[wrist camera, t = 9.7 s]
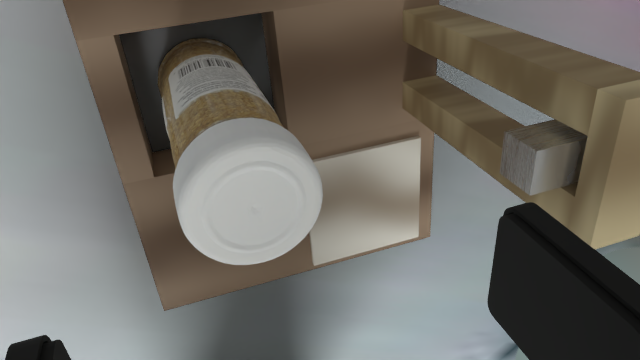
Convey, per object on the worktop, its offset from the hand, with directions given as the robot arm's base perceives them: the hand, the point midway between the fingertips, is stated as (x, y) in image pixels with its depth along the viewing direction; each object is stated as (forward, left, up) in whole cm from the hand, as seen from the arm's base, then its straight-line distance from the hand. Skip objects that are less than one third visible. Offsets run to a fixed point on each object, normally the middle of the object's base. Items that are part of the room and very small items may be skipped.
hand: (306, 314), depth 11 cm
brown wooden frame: (-3, -3, -19) cm, 19 cm away
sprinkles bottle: (-1, 0, -19) cm, 19 cm away
